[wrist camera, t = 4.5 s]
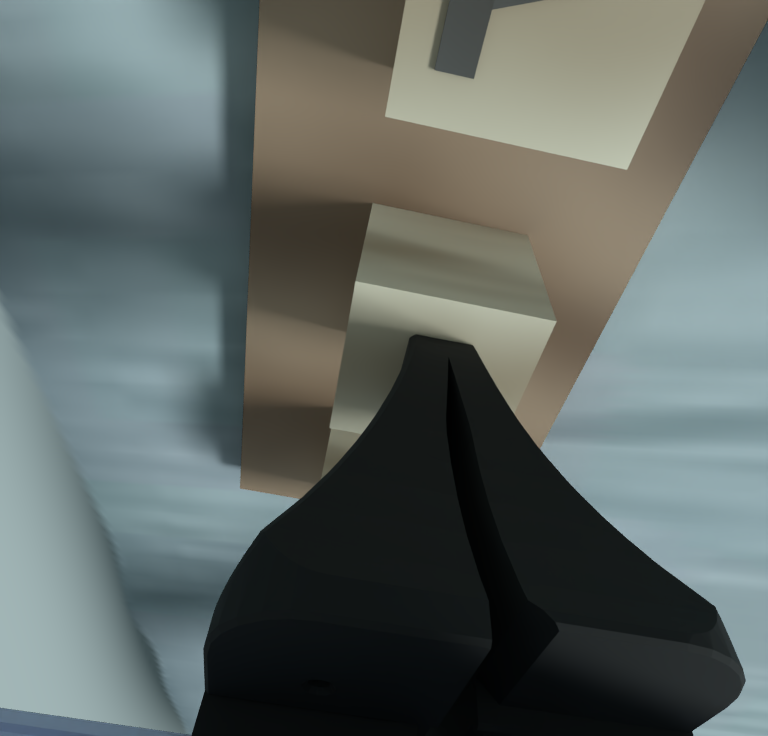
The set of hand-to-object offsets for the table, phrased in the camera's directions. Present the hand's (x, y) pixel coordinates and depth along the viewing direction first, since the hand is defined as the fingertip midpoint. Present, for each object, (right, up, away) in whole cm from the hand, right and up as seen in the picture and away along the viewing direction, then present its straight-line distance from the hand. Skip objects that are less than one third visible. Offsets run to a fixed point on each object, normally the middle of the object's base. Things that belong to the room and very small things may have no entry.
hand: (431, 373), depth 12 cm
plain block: (0, +2, +3) cm, 4 cm away
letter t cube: (+2, +8, -1) cm, 8 cm away
